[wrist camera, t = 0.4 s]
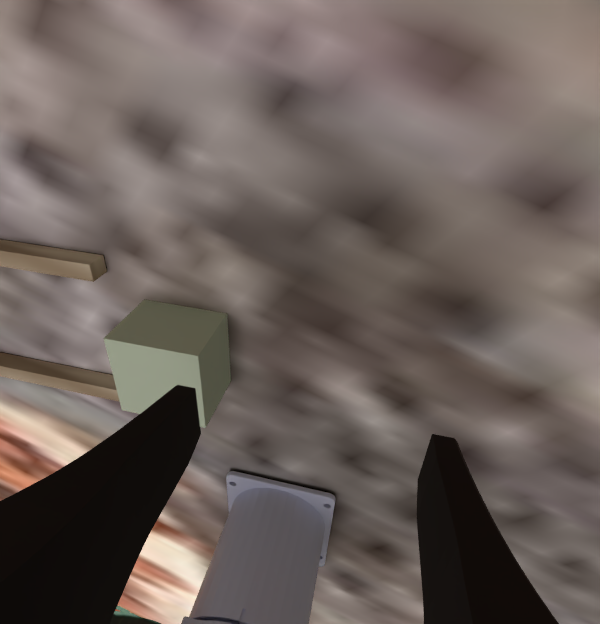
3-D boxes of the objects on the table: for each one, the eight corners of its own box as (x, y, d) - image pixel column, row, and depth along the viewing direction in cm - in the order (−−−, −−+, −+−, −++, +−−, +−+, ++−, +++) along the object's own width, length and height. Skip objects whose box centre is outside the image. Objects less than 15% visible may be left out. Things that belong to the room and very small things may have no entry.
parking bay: (133, 389, 28) (123, 402, 27) (-13, 359, 30) (-27, 370, 29) (103, 255, 23) (89, 264, 22) (-74, 227, 24) (-94, 235, 24)
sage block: (231, 379, 26) (205, 428, 23) (157, 365, 27) (121, 410, 23) (228, 312, 23) (198, 356, 20) (145, 298, 24) (103, 338, 21)
